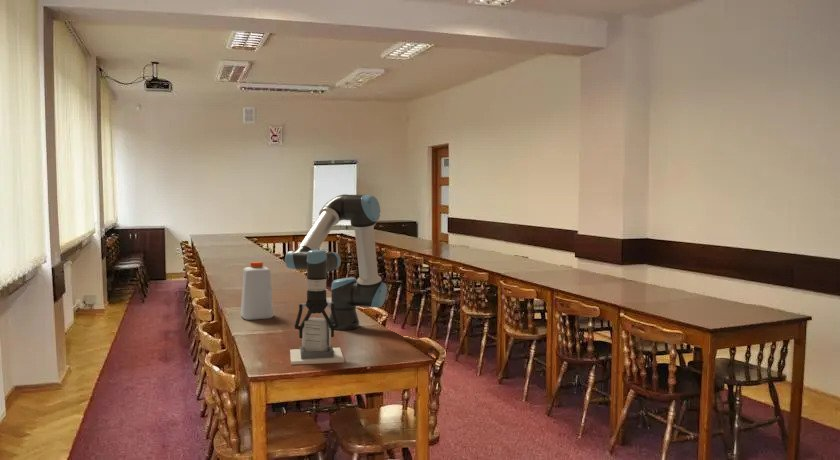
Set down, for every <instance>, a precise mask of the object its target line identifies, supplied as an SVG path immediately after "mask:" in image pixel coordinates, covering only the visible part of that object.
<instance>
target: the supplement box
mask: <svg viewBox="0 0 840 460" xmlns="http://www.w3.org/2000/svg"><path fill="white" fill-rule="evenodd" d="M303 329H304V351H305V352H311V351H327V350H329V324H328V322H327V321H326V319H325V317H309V319H308V321H304V328H303Z"/></svg>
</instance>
